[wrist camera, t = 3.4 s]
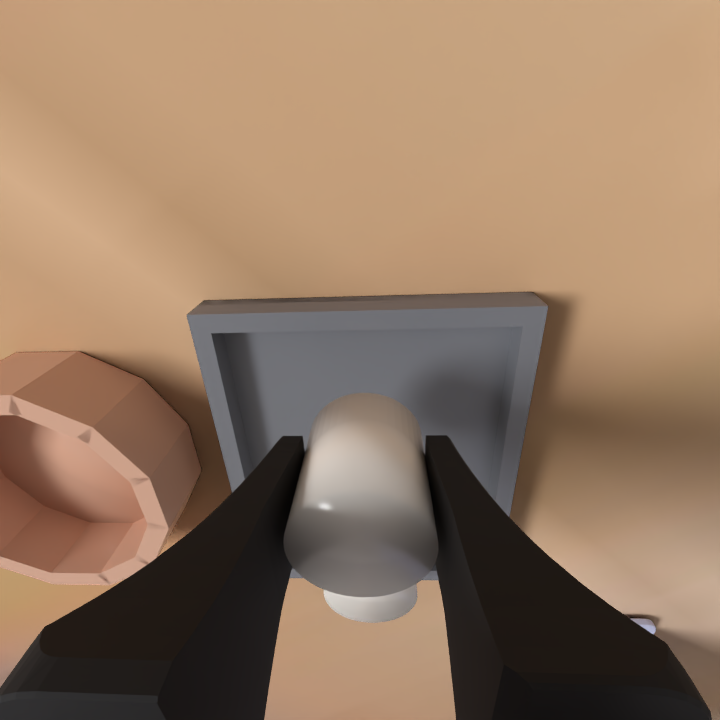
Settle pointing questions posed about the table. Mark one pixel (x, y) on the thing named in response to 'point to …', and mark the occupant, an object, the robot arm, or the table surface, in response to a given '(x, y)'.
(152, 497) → the bowl
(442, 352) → the parts tray
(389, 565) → the white egg
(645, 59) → the table surface
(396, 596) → the stone pebble far
